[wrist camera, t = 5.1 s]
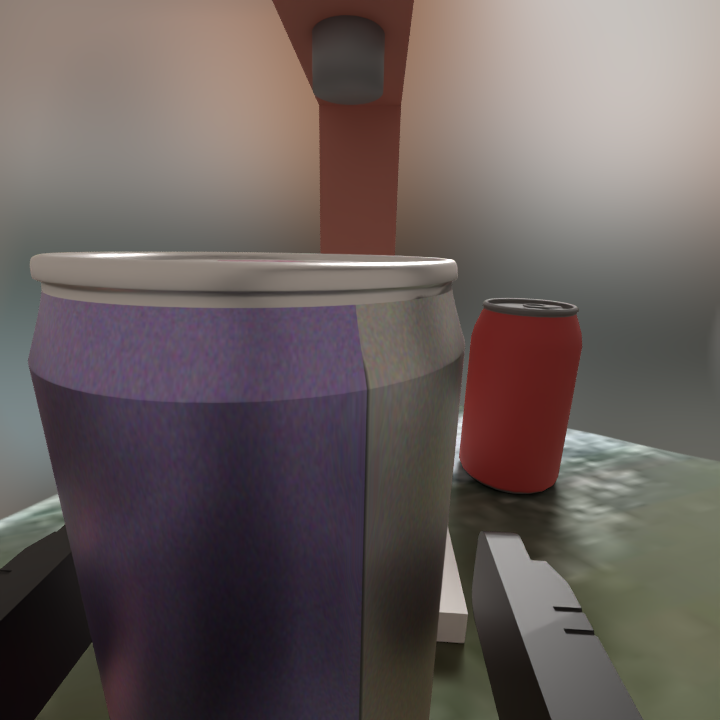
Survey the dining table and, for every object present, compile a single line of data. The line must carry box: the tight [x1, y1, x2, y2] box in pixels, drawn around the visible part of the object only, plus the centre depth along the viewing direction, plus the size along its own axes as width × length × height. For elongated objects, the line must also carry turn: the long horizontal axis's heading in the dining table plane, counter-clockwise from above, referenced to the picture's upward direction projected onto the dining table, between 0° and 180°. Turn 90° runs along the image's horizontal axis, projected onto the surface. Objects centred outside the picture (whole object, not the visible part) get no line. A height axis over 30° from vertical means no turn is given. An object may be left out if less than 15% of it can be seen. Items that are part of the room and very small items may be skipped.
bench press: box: [272, 0, 468, 643], centre depth 19 cm, size 11×18×39 cm, turn 177°
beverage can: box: [28, 252, 465, 720], centre depth 8 cm, size 6×6×15 cm
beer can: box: [459, 298, 582, 494], centre depth 26 cm, size 7×7×12 cm
